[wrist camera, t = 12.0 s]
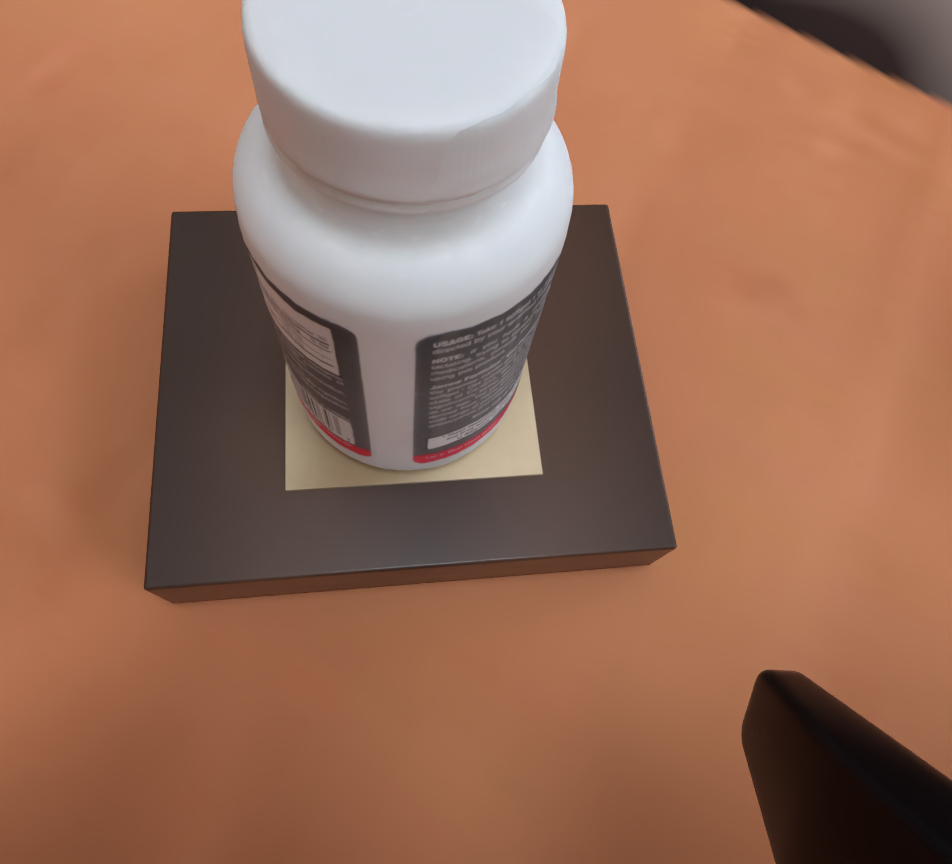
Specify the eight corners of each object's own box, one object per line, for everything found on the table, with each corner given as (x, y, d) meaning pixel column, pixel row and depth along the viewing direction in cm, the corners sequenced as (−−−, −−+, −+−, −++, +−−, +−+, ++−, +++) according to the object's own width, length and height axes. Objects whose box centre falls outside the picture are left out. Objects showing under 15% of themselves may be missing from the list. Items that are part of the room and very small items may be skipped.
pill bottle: (511, 285, 19) (609, -117, 10) (518, 478, 17) (651, 198, 8) (303, 276, 18) (205, -154, 9) (286, 474, 16) (136, 170, 7)
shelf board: (171, 603, 17) (140, 589, 15) (192, 255, 21) (169, 208, 19) (651, 565, 18) (680, 546, 16) (591, 246, 22) (609, 200, 20)
